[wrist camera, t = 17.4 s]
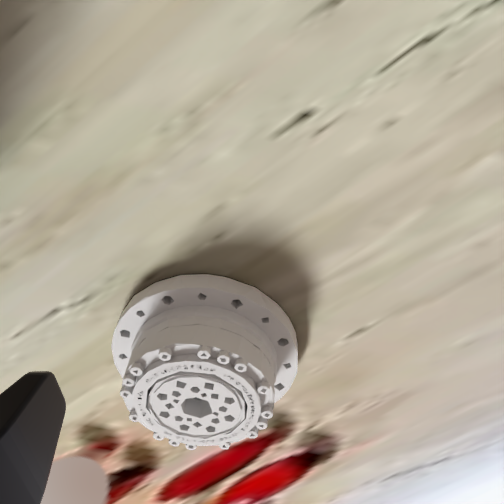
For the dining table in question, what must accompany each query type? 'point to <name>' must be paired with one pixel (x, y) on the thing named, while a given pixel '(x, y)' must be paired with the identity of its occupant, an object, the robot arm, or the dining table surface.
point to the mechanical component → (203, 359)
